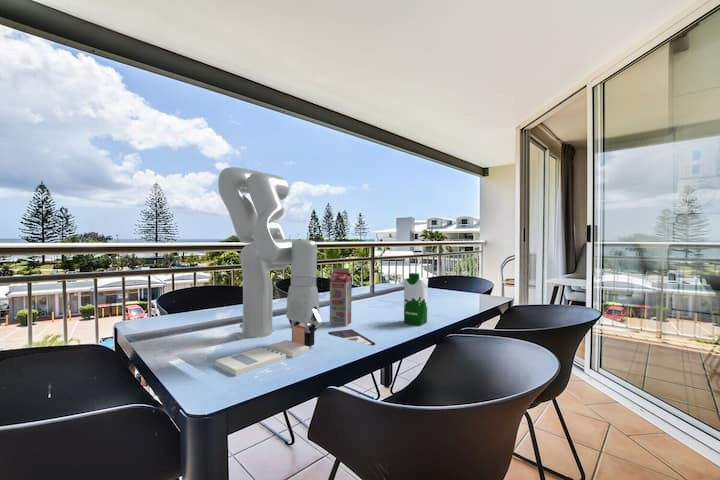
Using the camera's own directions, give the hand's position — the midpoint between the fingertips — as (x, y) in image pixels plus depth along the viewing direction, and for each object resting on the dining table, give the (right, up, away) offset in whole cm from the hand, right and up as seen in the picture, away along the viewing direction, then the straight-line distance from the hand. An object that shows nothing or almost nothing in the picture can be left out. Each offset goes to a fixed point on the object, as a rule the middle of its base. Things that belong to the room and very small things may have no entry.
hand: (303, 343), depth 97 cm
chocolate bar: (+14, -3, +13) cm, 19 cm away
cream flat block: (-11, -1, -13) cm, 17 cm away
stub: (-2, -1, -3) cm, 4 cm away
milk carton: (+39, -3, +36) cm, 54 cm away
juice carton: (+9, -3, +33) cm, 34 cm away
